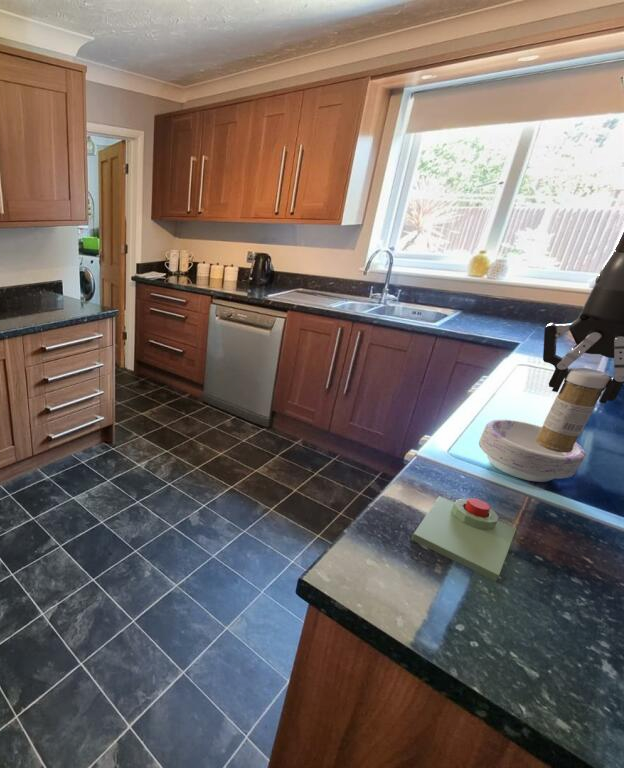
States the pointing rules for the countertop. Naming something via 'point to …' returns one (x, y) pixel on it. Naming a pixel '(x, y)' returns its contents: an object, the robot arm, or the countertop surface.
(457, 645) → the countertop surface
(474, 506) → the button
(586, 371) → the sprinkles bottle
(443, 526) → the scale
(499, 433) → the paper bowls
